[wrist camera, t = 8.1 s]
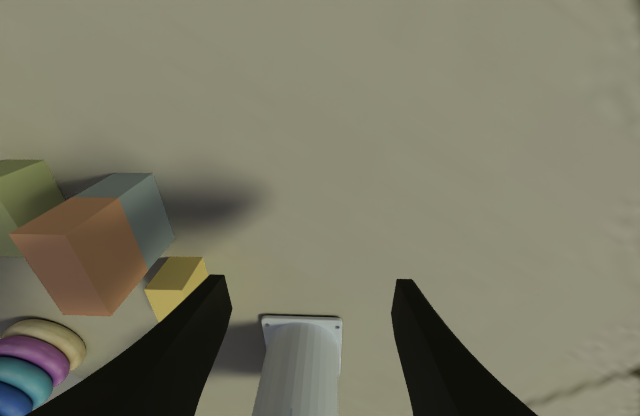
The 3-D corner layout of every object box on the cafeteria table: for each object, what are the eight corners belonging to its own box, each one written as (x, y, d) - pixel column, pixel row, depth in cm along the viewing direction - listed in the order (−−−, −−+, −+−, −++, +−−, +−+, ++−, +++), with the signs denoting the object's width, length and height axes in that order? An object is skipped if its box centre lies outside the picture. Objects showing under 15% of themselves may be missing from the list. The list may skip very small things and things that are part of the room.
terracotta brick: (148, 270, 21) (110, 316, 17) (108, 269, 21) (63, 314, 17) (118, 197, 18) (65, 235, 14) (72, 197, 18) (8, 233, 14)
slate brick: (174, 238, 24) (147, 271, 21) (140, 237, 24) (108, 270, 21) (153, 173, 21) (117, 198, 18) (114, 172, 21) (70, 197, 18)
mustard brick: (216, 303, 28) (199, 340, 25) (187, 303, 28) (166, 339, 25) (203, 256, 25) (182, 290, 22) (170, 255, 25) (143, 289, 22)
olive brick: (80, 226, 24) (37, 257, 21) (46, 226, 24) (-2, 256, 21) (45, 159, 21) (-13, 182, 18) (7, 159, 21) (-58, 181, 18)
